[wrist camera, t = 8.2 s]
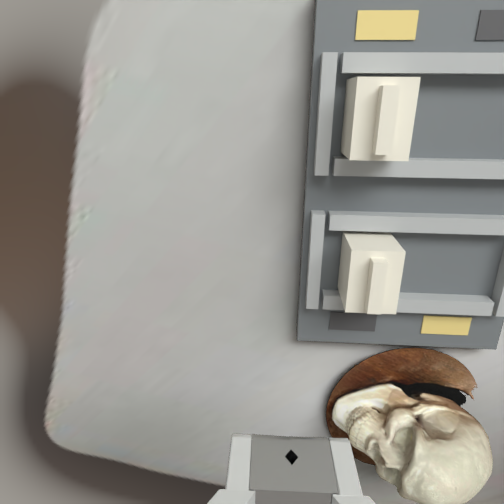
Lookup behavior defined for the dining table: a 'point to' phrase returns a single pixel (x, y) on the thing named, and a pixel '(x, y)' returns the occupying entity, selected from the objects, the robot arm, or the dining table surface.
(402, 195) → the switch board
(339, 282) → the tab
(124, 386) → the dining table surface
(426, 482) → the skull
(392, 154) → the tab
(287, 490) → the robot arm
